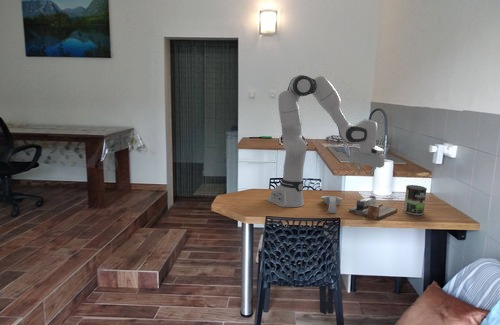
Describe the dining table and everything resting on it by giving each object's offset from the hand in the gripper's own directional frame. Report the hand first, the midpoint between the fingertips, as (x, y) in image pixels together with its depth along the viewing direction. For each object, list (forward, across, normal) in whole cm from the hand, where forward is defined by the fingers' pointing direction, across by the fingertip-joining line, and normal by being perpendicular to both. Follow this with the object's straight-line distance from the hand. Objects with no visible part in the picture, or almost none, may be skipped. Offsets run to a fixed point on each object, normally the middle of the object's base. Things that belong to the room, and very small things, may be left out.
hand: (365, 172), depth 212 cm
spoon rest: (+20, -10, -16) cm, 27 cm away
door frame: (+19, +10, -6) cm, 22 cm away
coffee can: (+20, +24, +12) cm, 33 cm away
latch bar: (+16, +5, -6) cm, 18 cm away
